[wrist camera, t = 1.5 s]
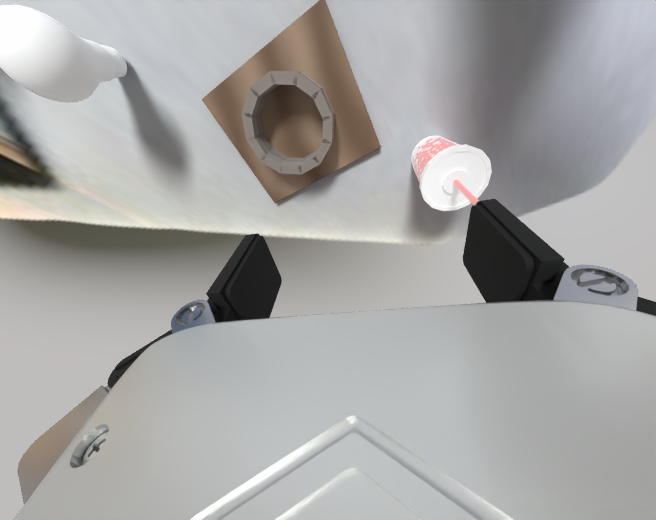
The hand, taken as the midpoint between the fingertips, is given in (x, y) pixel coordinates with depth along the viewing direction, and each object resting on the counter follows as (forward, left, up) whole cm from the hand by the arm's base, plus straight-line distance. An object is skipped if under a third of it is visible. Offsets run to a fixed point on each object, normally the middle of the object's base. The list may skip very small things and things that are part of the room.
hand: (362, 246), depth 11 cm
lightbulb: (+20, -19, -23) cm, 36 cm away
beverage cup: (-7, +6, -23) cm, 25 cm away
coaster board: (+6, -5, -23) cm, 24 cm away
